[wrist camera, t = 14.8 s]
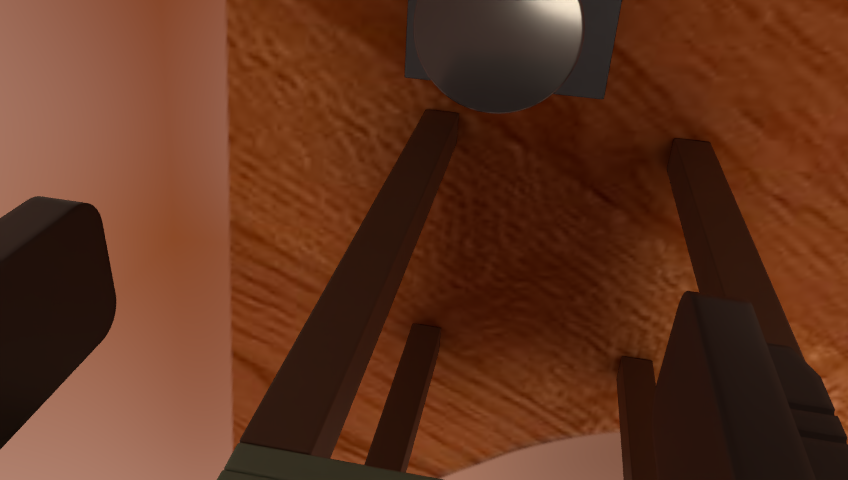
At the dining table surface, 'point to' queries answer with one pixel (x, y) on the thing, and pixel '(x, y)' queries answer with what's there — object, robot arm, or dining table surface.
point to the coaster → (591, 64)
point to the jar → (499, 49)
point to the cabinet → (371, 301)
